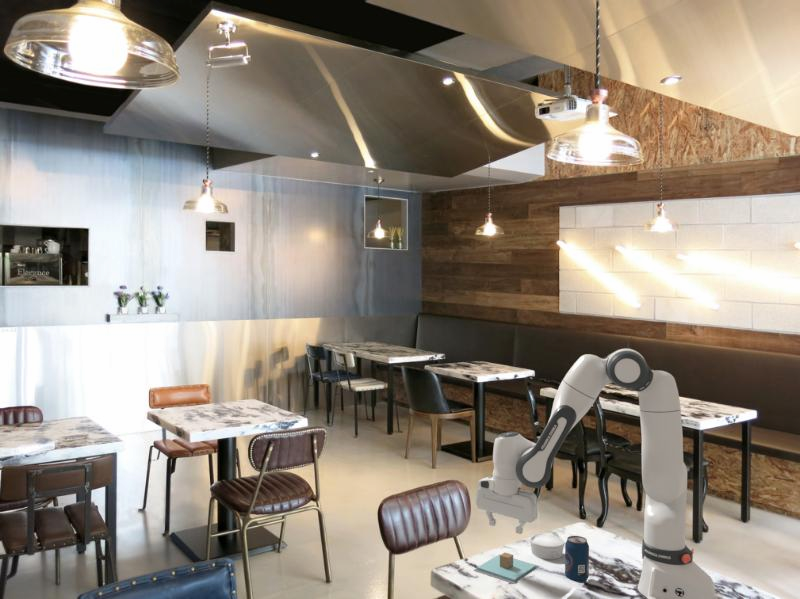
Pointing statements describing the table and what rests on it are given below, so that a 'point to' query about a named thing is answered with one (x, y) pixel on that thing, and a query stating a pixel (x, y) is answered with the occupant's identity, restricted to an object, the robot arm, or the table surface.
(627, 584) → the table surface
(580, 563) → the soda can
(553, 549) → the ramekin
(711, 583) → the robot arm
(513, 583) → the mat
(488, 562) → the cover sheet
